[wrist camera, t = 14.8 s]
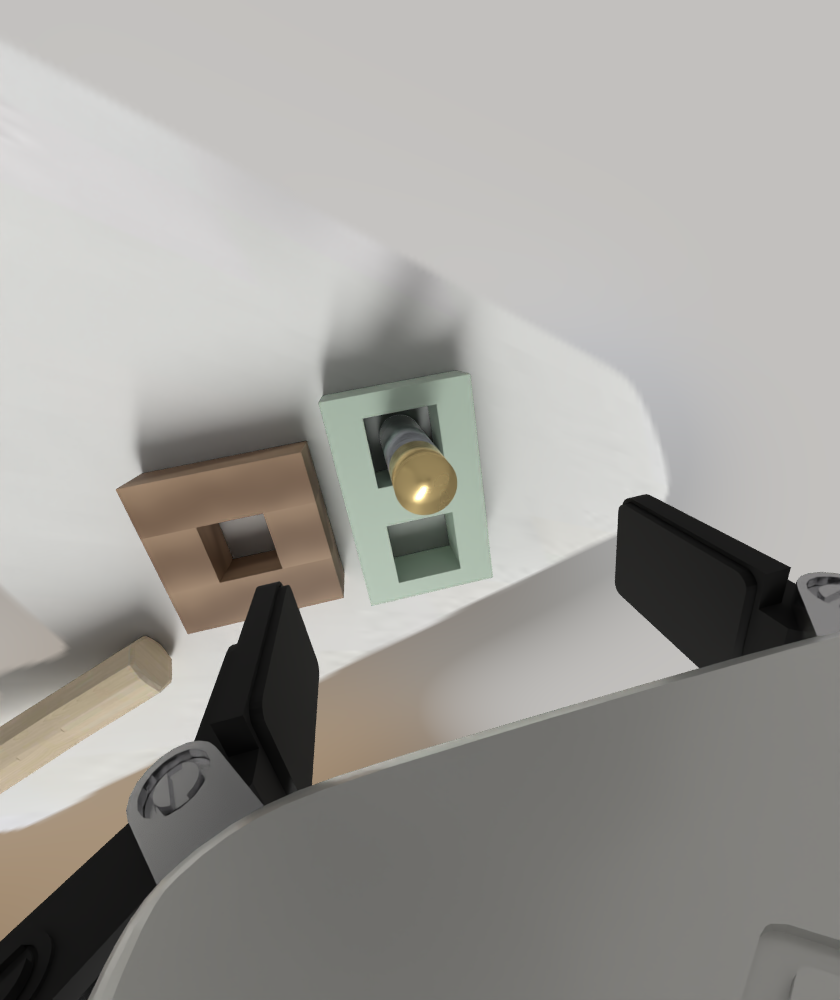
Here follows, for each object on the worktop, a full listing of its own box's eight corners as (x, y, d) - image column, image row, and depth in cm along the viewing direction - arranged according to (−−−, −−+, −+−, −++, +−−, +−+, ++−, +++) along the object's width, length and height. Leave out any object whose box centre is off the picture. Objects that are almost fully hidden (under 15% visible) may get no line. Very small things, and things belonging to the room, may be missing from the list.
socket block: (142, 473, 29) (115, 489, 26) (306, 440, 30) (301, 452, 27) (203, 606, 33) (187, 634, 30) (344, 574, 34) (343, 597, 31)
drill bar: (375, 418, 30) (388, 461, 19) (416, 411, 30) (452, 448, 19) (383, 458, 31) (400, 521, 20) (423, 450, 31) (460, 507, 20)
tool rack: (322, 395, 29) (318, 402, 25) (455, 370, 30) (470, 373, 26) (369, 578, 35) (371, 605, 31) (478, 553, 36) (492, 577, 32)
